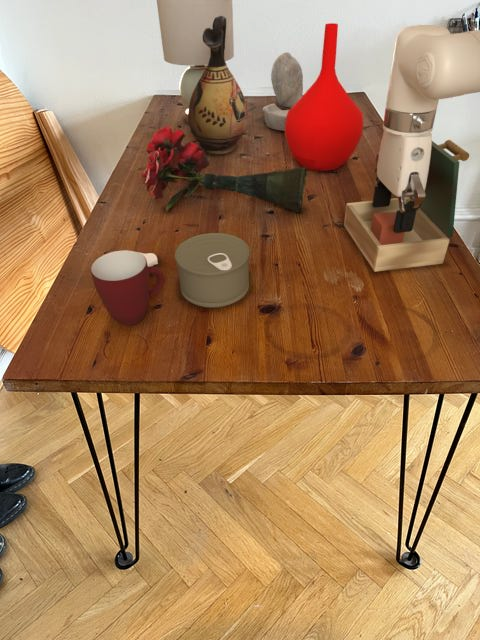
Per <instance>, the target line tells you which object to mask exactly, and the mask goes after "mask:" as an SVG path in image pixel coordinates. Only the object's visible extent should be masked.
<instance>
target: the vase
mask: <svg viewBox="0 0 480 640" xmlns="http://www.w3.org/2000/svg"><path fill="white" fill-rule="evenodd" d="M338 30H339V24H338V23H333V22H330V23H325V24H324V33H323V43H322V45H323V46H322V53H321V69H320V71H319V75H318V76H317V78H316V80H315V81H314V82H313V84H312V85H311V86H310V87H309V88H308V89H307V90H306V91H305V93H303V96H302V97H301V98H300V99H299V100H298V101H297V102H296V103H295V104H294V105H293V106H292V108H289V109H290V110H289V109H288V110H289V111H288V113H287V117H286V121H285V131H284V135H285V138H286V142H287V145H288V146H287V147H288V149H289V151H290V154H291V155H292V156H293V158H294V160H295V161H296V162H297V163H298V164H299V165H300V166H301V167H302V168H304V167H305V168H307V170H310V171H314V172H315V171H316V172H328V171H333V170H337V169H338V168H340V167H341V166H343V165H344V164H346V162H347V161H348V160H349V159H350V158H351V156H352V155H353V154H354V153H355V152H356V149H357V148H358V145H359V143H360V141H361V139H362V137H363V132H364V116H363V112H362V110H361V109H360V108H359V107H358V106H357V104H356V102H354V101H353V98H351V97H350V95H349V94H348V92H347V91H346V89H345V88H344V87H343V85H342V83H341V82H340V81H339V79H338V76H337V73H336V63H337V62H336V61H337V47H338V32H339V31H338Z"/></svg>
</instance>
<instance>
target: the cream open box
mask: <svg viewBox="0 0 480 640" xmlns="http://www.w3.org/2000/svg"><path fill="white" fill-rule="evenodd" d="M404 199H405V204H406V203H408V202H409V201H411V199H410V198H409V197H404ZM372 203H373V200H365V201H357V202H356V201H355V202H347V203H346V205H345V213H344V220H343V226H344V228H345V229H346V231H347V233H348V234H349V235H350V237H351V238H352V240H353V242H354V243H355V245H356V246H357V248H358V249H359V251H360V252H361V254H362V255H363V256H364V258H365V260H366V261H367V263H368V265H369V266H370V267H371V269H372V270H373V272H383V271H391V270H400V269H408V268H417V267H426V266H435V265H440V264H441V265H442V264H444V261H445V258H446V254H447V251H448V247H449V244H450V241H451V240H450V238H448V237H447V236H446V235H445V234H444V233H443V232H442V231H441V230H440V229H439V228H438V227H437V226H436V225H435V224H434V222H433V221H432V220H431V219H430V218H429V217H428V216H427V215H426V214H425V213H424V212H423V211H422V210H421V209H420V208H419V210H418V211H416V215H415V220H414V224H413V229H412V231H410V232H404V237H403V242H402V243H397V244H388V245H381V244H380V243H379V241H378V240H377V238H376V237H375V236H374V234H373V233H372V232H371V224H372V218H373V214H378V213H387V212H397V210H400V209H399V202H398V197H394V198H391V200H390V205H389V206H386V207H376V208H374V207H373V206H372Z"/></svg>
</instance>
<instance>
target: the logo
mask: <svg viewBox="0 0 480 640" xmlns="http://www.w3.org/2000/svg"><path fill="white" fill-rule="evenodd" d="M137 252H138V253H140V254H142V255H143V256H144V257H145V258H146V260H147V265H148V267H149V266H155V265H158V264H159V260H158V257H157V255H156V254H155V253H153V252H149V253H143V252H140V251H137Z"/></svg>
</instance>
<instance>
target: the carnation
mask: <svg viewBox="0 0 480 640" xmlns="http://www.w3.org/2000/svg"><path fill="white" fill-rule="evenodd" d="M185 138H186V134H185V132H184V131H183V130H180V129H176V130H174V131H173V129H172V127H171V126H163V127H162V128H161V129H159V130H157V131H155V132H154V134H153V135H152V139H151V141H149V143H147V147H146V153H147V154H148V161H147V164H146V169H144V170H142V172H141V174H140V177H141V179H143V181H142V184H143V185H145V191H146V192H150V194H151V195H153V196H152V198H153V199H154V200H162V199H163V198H164V194H163V191H164V190H166V188H168V189H169V190H170V191H171V192H173V190H172V189H171V188H170V186H169V183H178V181H177V180H182V181H186V182H187V185H186V186H185V187H184V188H183V189H181V190H179V191H178V192H177V193H175V194H174V195H173V196H172V197H171V198H170V199H169V200H168V202H167V204H166V209H165V210H166V212H169V211H170V209H171V208H172V207H173V206H174V205H175V204H176V203H177V202H178V201H179V199H180V197H182V195H183V194H184V195H183V197H185V198H189V197H190V196H191V195H193V194H194V193H195V192H197V190H198V188H204V190H209V191H214V190H217V191H223V192H224V191H225V192H226V191H227V192H228V191H229V192H236V193H238V194H243V195H246V196H248V197H250V198H253V199H256V200H257V199H258V200H259V201H264V202H267V204H268V203H269V204H272V205H274V206H279V207H281V208H283V209H287V210H289V211H293V212H296V213H299V214H302V213H303V206H304V205H303V202H304V196H305V187H306V177H307V172H308V169H307V168H305V167H295V168H294V167H293V168H290V169H285V170H277V171H269V172H262V173H261V172H260V173H254V174H253V173H252V174H244V175H238V176H235V175H225V174H224V175H223V174H218V175H216V174H215V173H206V172H205V174H204V175H203V174H201V172H202V170H204V169H207V168H208V167H209V166H210V161H209V159H208V156H207V155H208V154H207V153H205V152H204V150H203V148H201V146H200V144H197V143H195V142H190V141H189V142H188V143H186V144H185V145H183V144H182V141H183V140H184V139H185ZM152 186H154V187H153V189H152V190H151V191H150V189H151V187H152Z"/></svg>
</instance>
